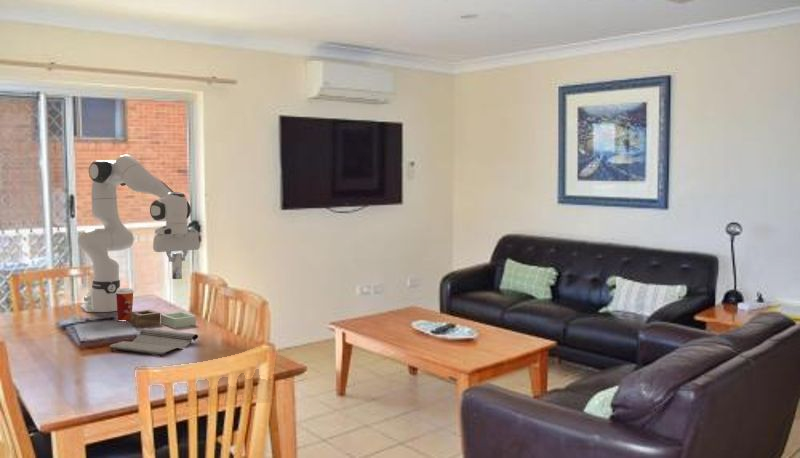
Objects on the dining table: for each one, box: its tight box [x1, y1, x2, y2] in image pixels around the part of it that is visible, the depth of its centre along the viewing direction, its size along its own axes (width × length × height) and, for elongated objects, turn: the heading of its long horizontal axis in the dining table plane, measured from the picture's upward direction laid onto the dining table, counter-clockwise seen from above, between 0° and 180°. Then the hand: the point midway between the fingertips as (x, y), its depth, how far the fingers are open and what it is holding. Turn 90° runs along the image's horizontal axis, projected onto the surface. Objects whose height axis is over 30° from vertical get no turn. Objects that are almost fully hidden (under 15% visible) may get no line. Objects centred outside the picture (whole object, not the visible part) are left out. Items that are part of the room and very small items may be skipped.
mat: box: [108, 327, 199, 357], centre depth 253 cm, size 23×24×5 cm
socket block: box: [129, 309, 161, 328], centre depth 290 cm, size 9×9×5 cm
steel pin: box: [171, 252, 183, 280], centre depth 290 cm, size 4×4×11 cm
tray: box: [160, 311, 197, 329], centre depth 292 cm, size 12×10×4 cm
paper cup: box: [115, 287, 135, 322], centre depth 296 cm, size 8×8×14 cm
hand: (176, 261), depth 290 cm, fingers closed on steel pin, 4 cm apart
